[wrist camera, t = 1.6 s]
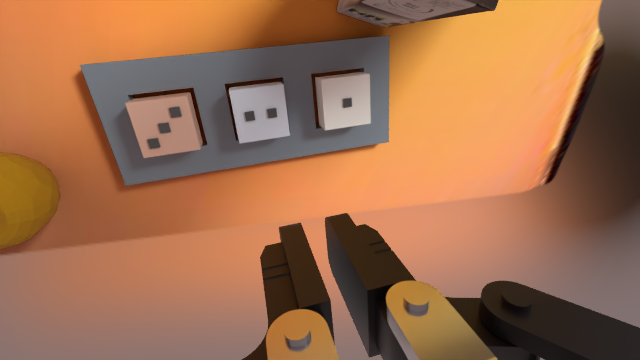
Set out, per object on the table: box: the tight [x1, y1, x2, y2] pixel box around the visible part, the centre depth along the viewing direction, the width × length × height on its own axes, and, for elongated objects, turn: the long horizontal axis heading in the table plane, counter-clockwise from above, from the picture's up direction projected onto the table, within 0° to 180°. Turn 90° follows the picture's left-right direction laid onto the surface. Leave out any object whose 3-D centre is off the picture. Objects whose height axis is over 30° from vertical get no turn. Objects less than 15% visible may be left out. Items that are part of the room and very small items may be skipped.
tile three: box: [125, 92, 203, 158], centre depth 30 cm, size 5×5×3 cm
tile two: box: [229, 82, 290, 144], centre depth 32 cm, size 5×5×3 cm
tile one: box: [315, 72, 371, 130], centre depth 34 cm, size 5×5×3 cm
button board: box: [80, 36, 389, 186], centre depth 34 cm, size 30×12×2 cm, turn 96°
